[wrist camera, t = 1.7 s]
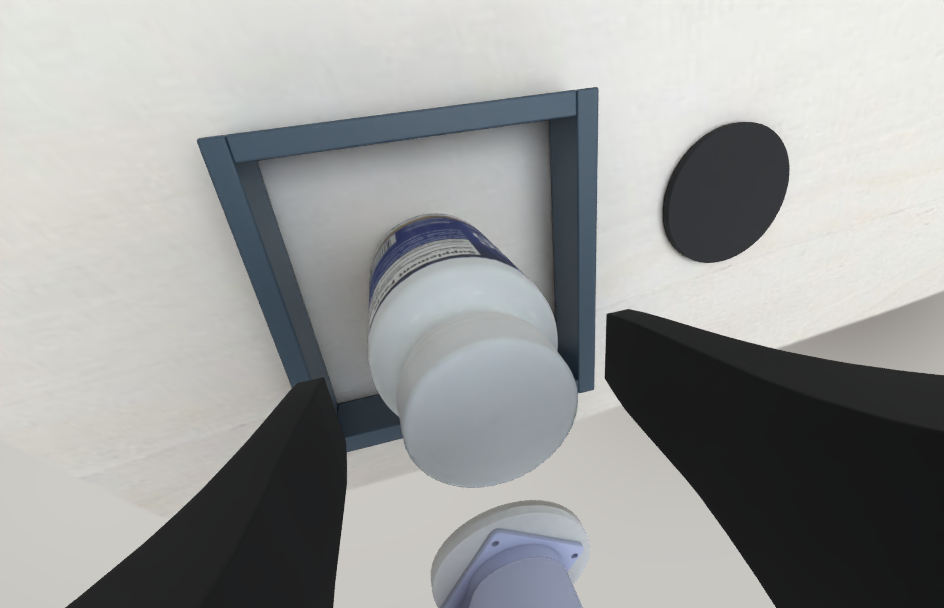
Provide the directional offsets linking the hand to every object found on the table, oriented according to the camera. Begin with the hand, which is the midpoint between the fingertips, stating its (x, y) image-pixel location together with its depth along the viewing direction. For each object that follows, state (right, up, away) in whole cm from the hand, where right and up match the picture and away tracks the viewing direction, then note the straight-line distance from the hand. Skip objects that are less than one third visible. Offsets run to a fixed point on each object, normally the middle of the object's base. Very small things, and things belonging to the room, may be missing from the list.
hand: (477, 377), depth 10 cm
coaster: (+12, +7, +9) cm, 16 cm away
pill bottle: (-2, +3, +7) cm, 8 cm away
